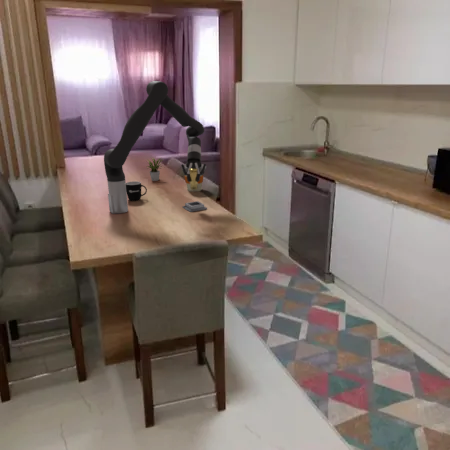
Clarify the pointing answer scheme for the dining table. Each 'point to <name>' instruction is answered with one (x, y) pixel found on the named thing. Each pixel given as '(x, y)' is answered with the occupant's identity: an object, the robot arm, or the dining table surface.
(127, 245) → the dining table surface
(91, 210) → the dining table surface
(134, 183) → the mug
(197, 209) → the square tray with knobs
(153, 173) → the house plant
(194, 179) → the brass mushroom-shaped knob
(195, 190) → the reusable coffee cup
